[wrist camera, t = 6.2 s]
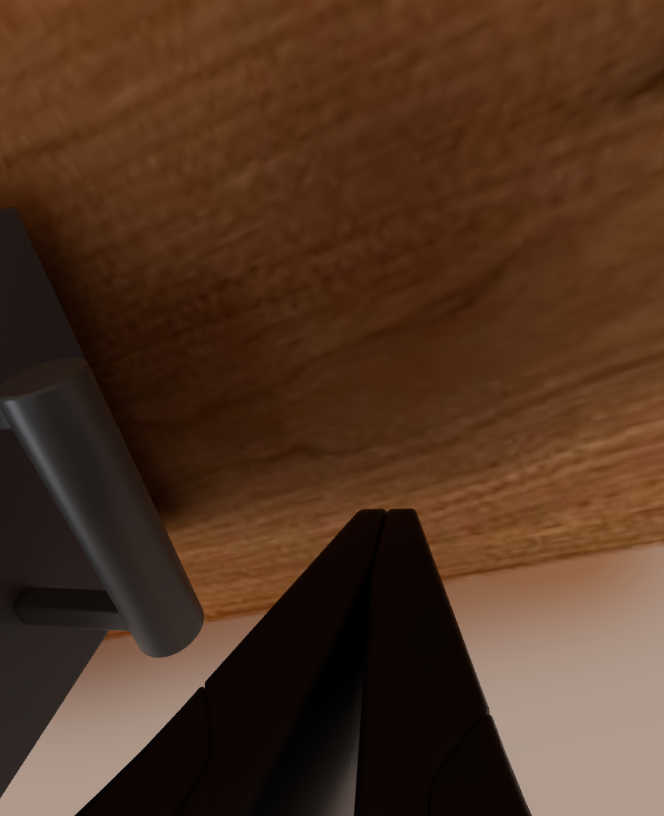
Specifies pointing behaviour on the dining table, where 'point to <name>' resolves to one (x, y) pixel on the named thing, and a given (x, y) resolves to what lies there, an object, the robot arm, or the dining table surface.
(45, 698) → the drawer
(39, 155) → the dining table surface
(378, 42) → the dining table surface
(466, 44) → the dining table surface
